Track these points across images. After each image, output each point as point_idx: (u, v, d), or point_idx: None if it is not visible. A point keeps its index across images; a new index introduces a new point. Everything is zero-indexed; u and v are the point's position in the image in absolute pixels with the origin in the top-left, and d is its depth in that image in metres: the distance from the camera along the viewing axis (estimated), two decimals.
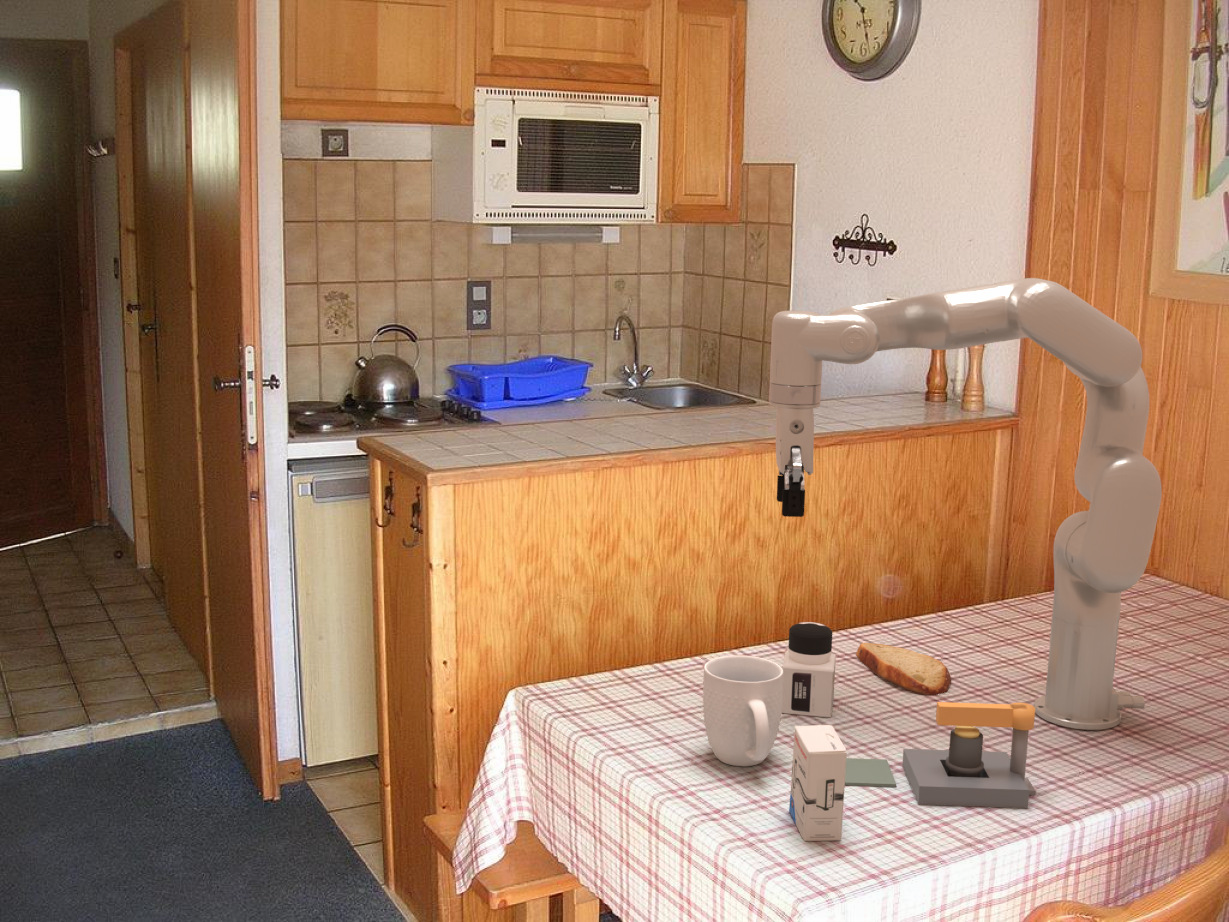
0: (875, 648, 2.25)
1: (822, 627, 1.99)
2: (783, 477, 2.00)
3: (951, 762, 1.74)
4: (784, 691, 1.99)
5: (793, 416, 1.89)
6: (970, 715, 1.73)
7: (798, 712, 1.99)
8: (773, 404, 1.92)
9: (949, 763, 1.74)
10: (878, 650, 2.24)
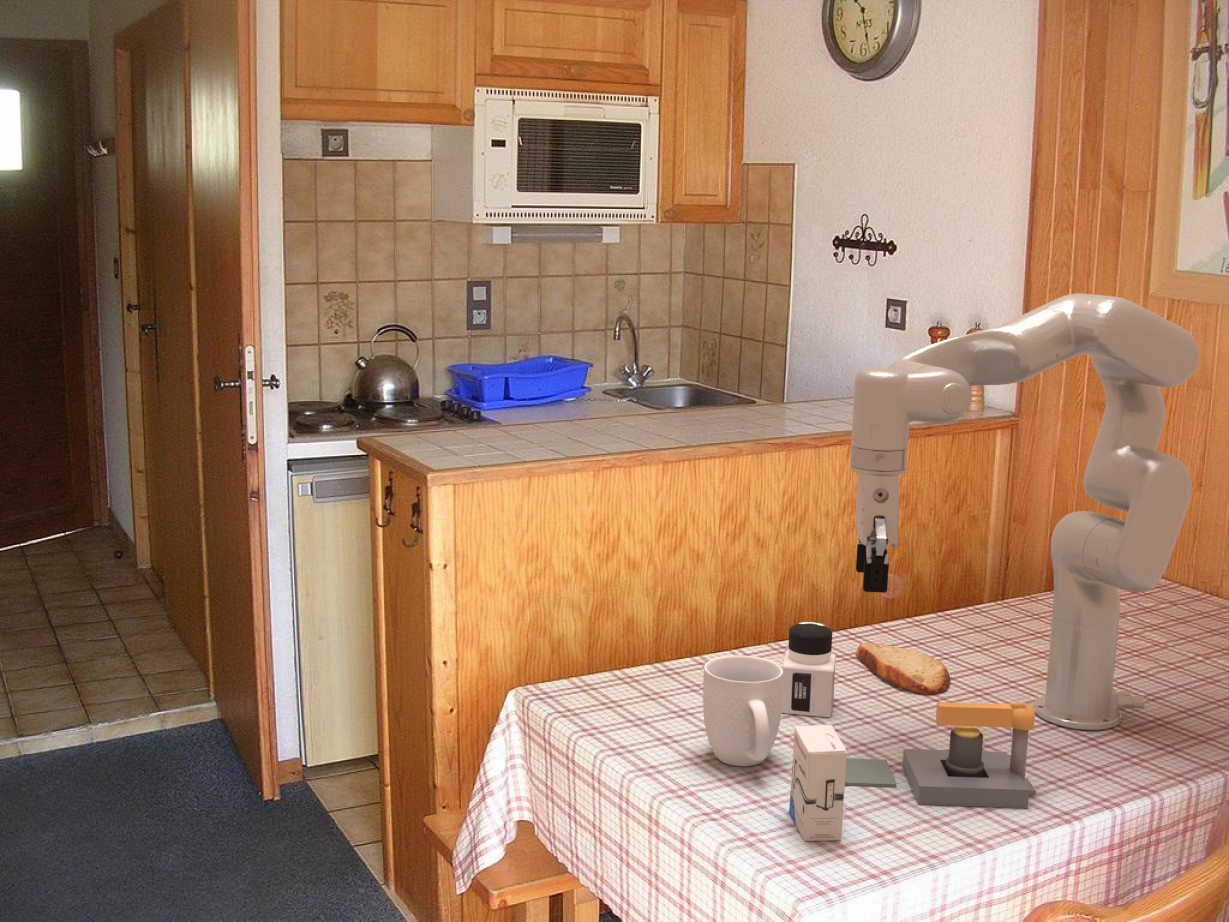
0: (875, 648, 2.25)
1: (822, 627, 1.99)
2: (863, 546, 1.85)
3: (951, 762, 1.74)
4: (784, 691, 1.99)
5: (877, 483, 1.74)
6: (970, 715, 1.73)
7: (798, 712, 1.99)
8: (855, 469, 1.77)
9: (949, 763, 1.74)
10: (878, 650, 2.24)
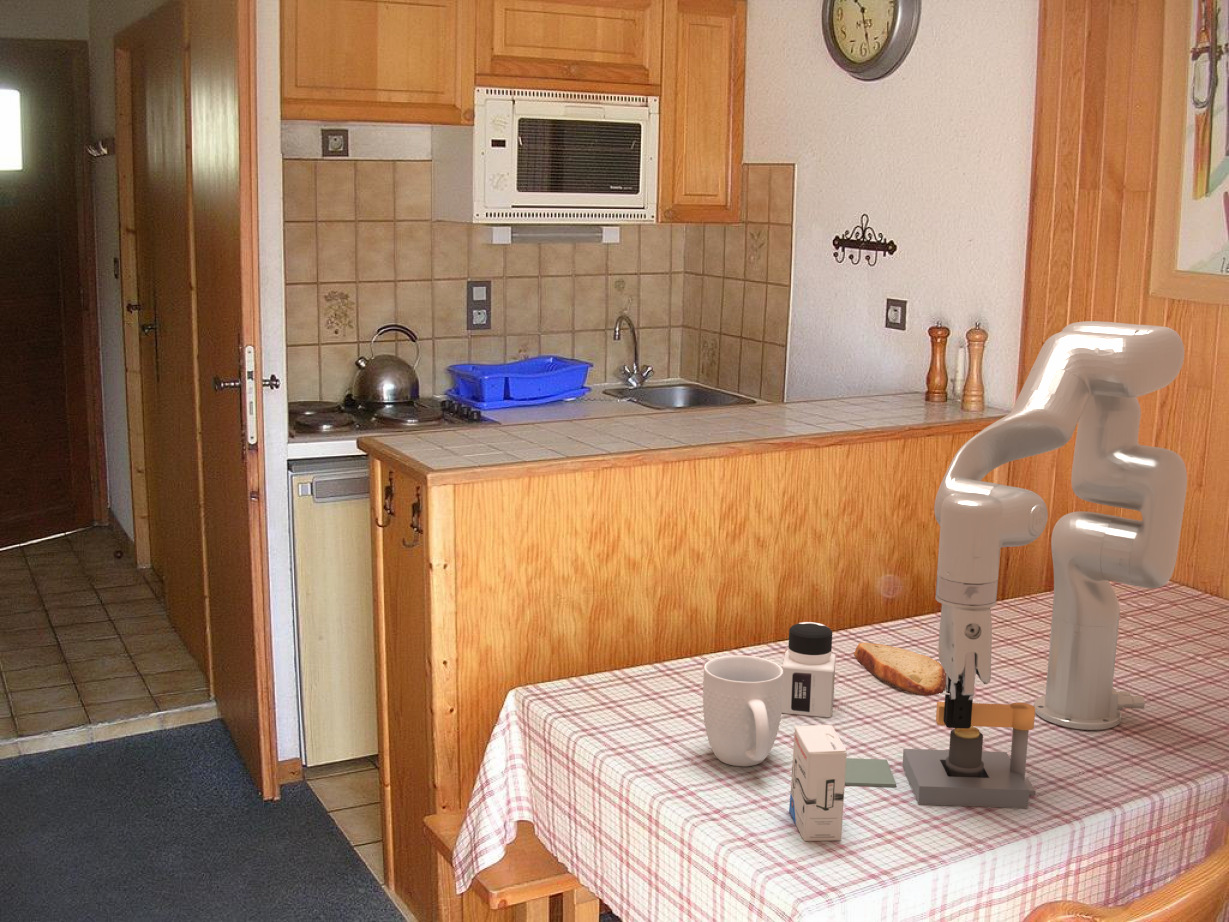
0: (873, 648, 2.25)
1: (822, 627, 1.99)
2: None
3: (951, 762, 1.74)
4: (784, 691, 1.99)
5: (969, 619, 1.64)
6: None
7: (798, 712, 1.99)
8: (943, 602, 1.66)
9: (949, 763, 1.74)
10: (876, 650, 2.24)
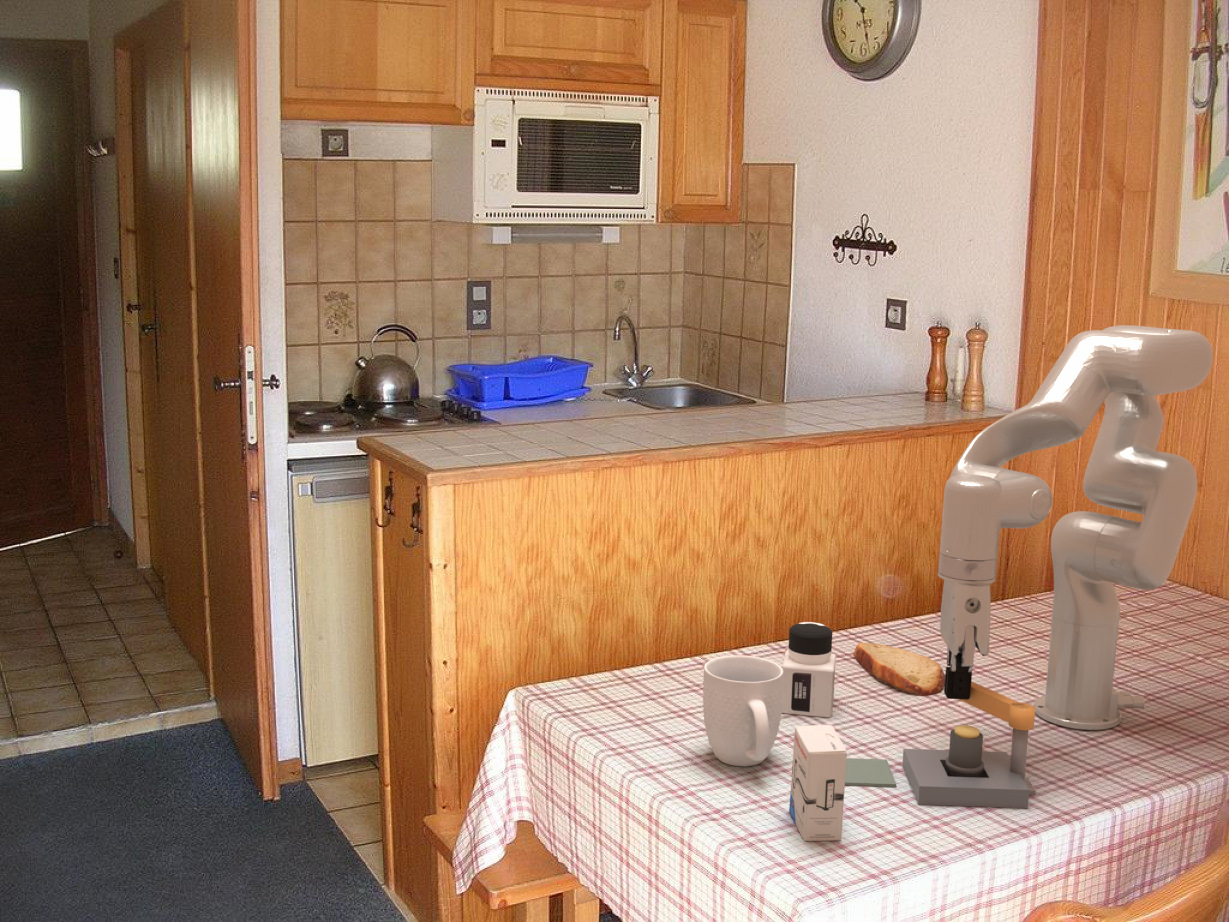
0: (872, 648, 2.25)
1: (822, 627, 1.99)
2: None
3: (951, 762, 1.74)
4: (784, 691, 1.99)
5: (969, 593, 1.73)
6: (979, 698, 1.79)
7: (798, 712, 1.99)
8: (945, 578, 1.75)
9: (949, 763, 1.74)
10: (875, 650, 2.24)
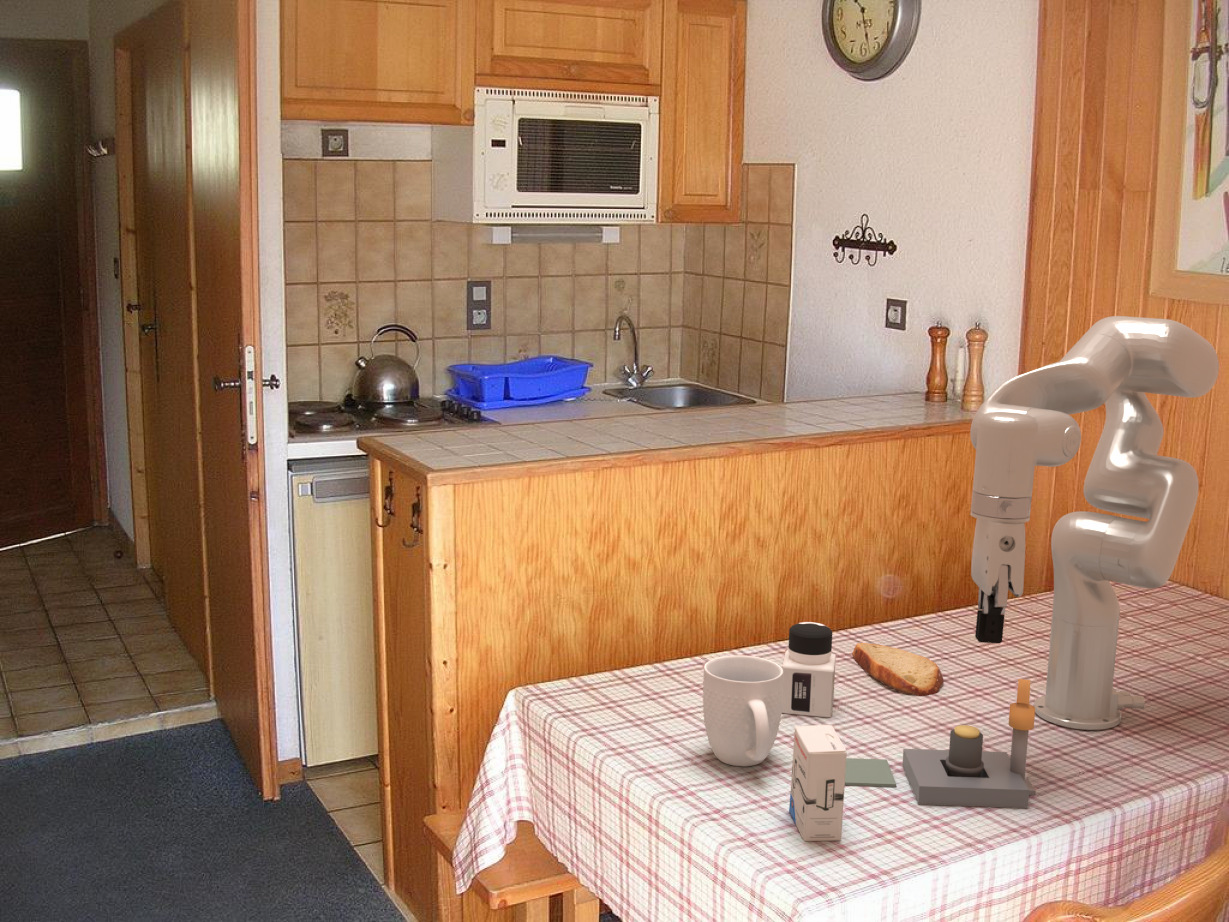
0: (871, 648, 2.25)
1: (822, 627, 1.99)
2: None
3: (951, 762, 1.74)
4: (784, 691, 1.99)
5: (1003, 531, 1.69)
6: None
7: (798, 712, 1.99)
8: (978, 516, 1.71)
9: (949, 763, 1.74)
10: (874, 650, 2.24)
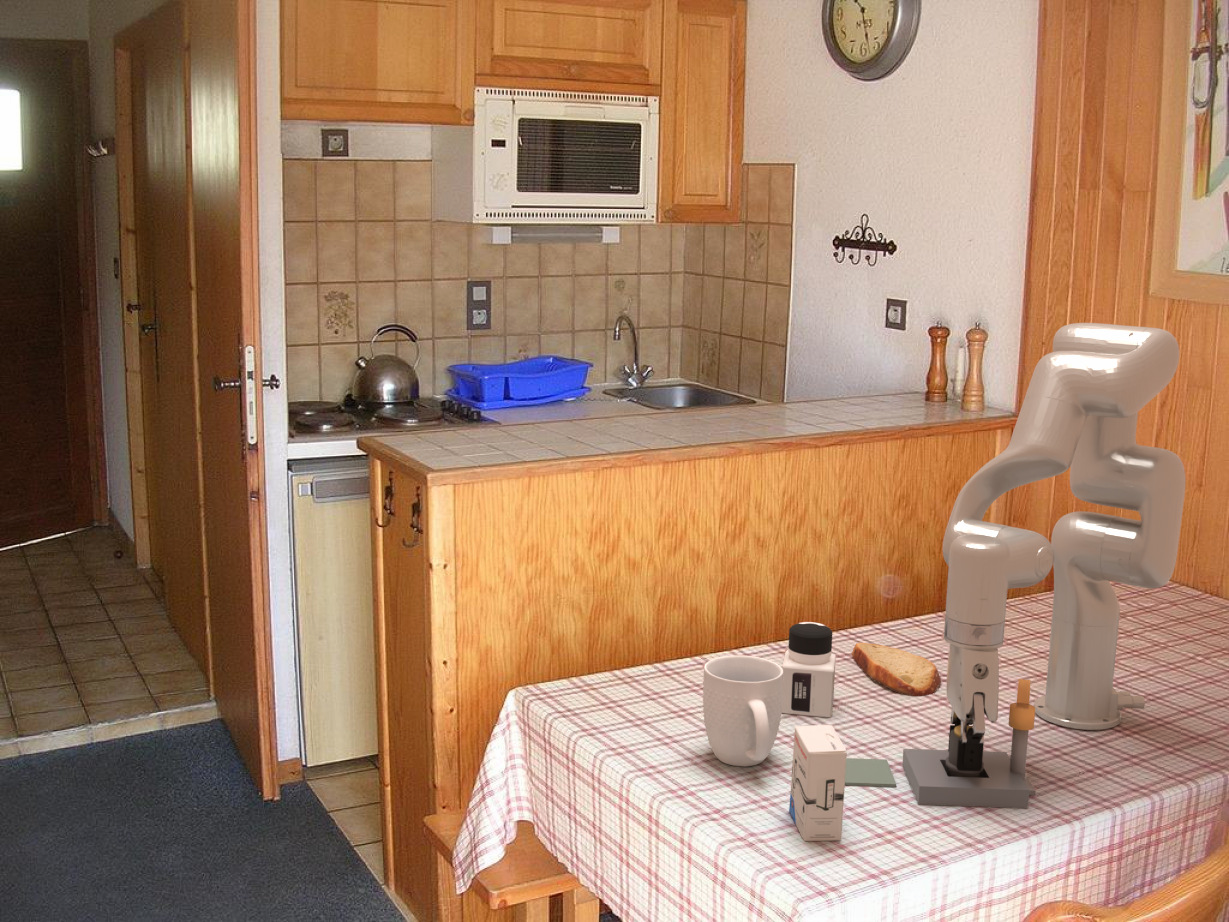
0: (870, 648, 2.25)
1: (822, 627, 1.99)
2: None
3: (951, 762, 1.74)
4: (784, 691, 1.99)
5: (976, 659, 1.67)
6: None
7: (798, 712, 1.99)
8: (951, 642, 1.70)
9: (949, 763, 1.74)
10: (873, 650, 2.24)
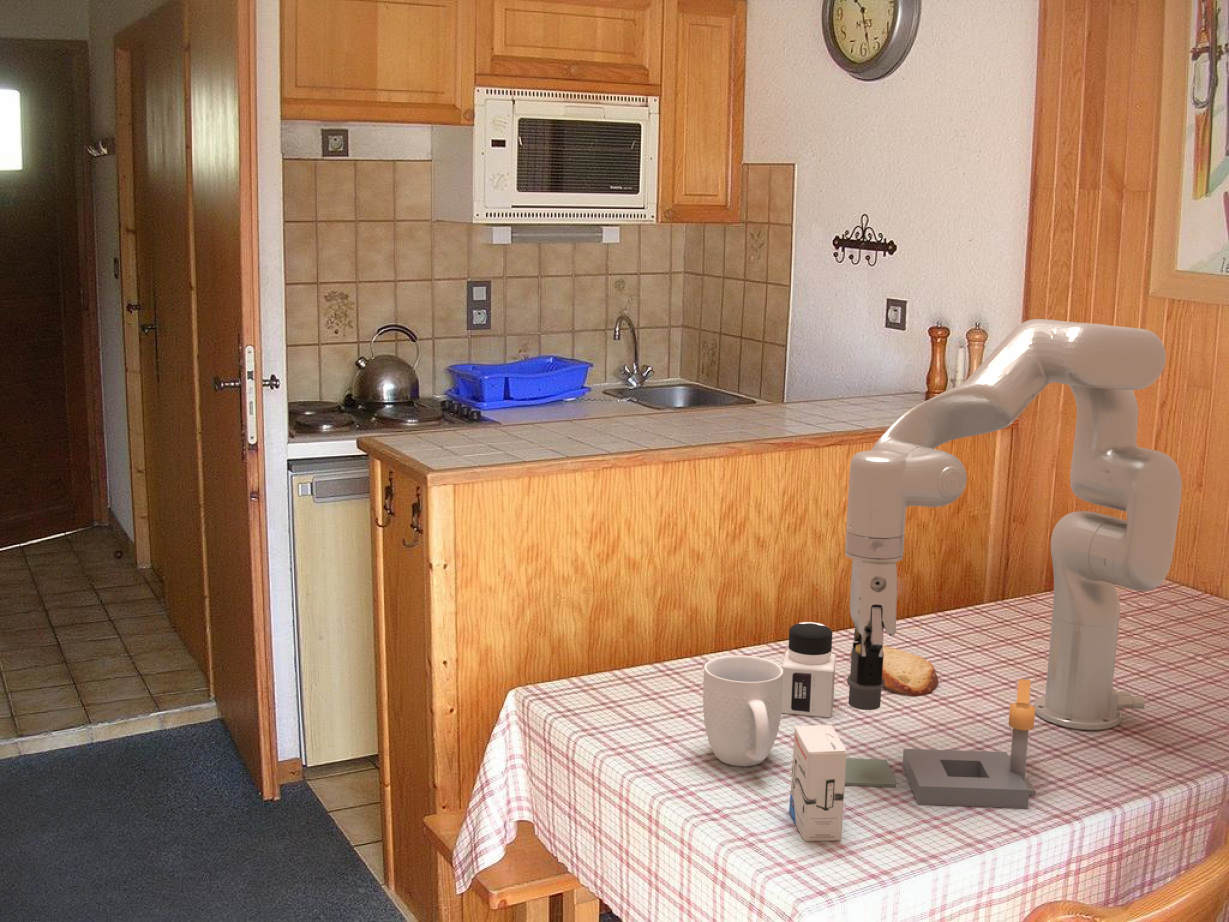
0: None
1: (822, 627, 1.99)
2: None
3: (852, 679, 1.75)
4: (784, 691, 1.99)
5: (874, 572, 1.69)
6: None
7: (798, 712, 1.99)
8: (851, 556, 1.71)
9: (850, 680, 1.75)
10: None
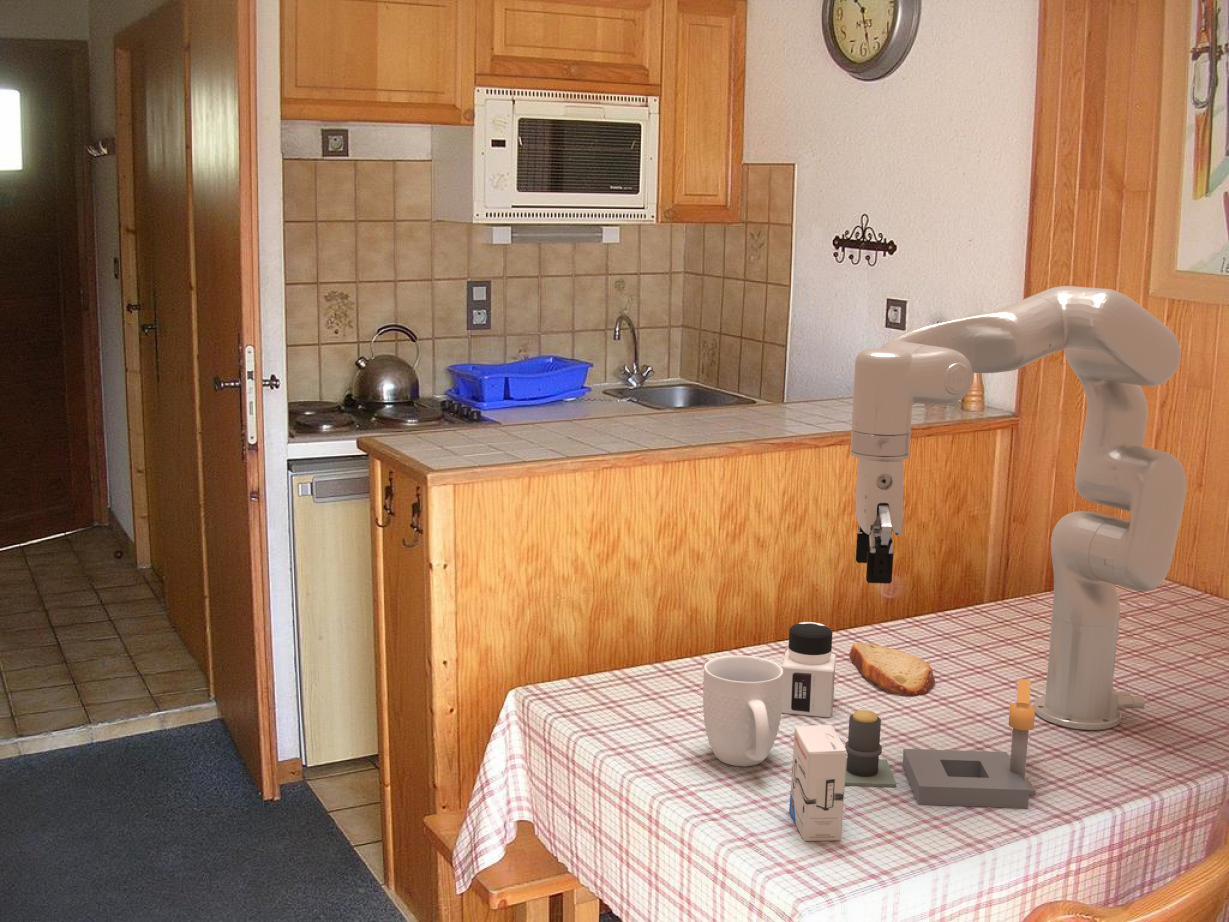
0: (867, 648, 2.25)
1: (822, 627, 1.99)
2: (863, 535, 1.77)
3: (850, 746, 1.77)
4: (784, 691, 1.99)
5: (880, 469, 1.66)
6: None
7: (798, 712, 1.99)
8: (856, 455, 1.69)
9: (848, 747, 1.77)
10: (870, 650, 2.24)
